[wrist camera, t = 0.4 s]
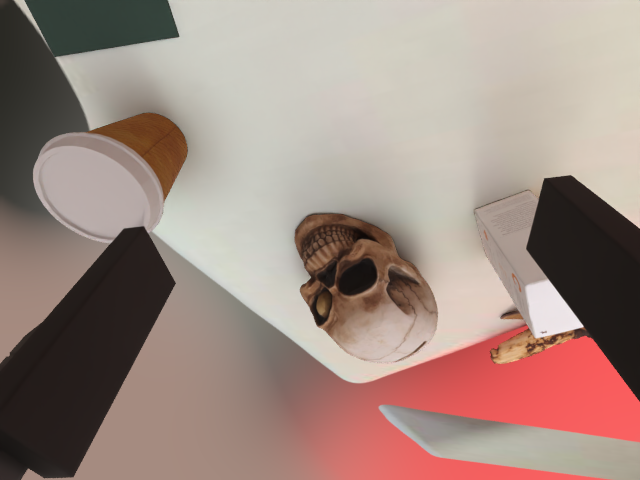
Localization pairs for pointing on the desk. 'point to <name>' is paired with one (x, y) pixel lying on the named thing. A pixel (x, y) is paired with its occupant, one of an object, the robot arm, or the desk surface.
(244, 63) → the desk surface
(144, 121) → the disposable coffee cup
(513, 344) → the brown jagged long piece
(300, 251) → the beige brown skull
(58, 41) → the desk mat
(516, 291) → the small box
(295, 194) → the desk surface
